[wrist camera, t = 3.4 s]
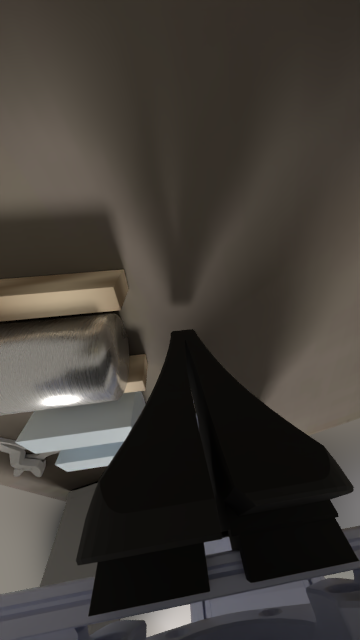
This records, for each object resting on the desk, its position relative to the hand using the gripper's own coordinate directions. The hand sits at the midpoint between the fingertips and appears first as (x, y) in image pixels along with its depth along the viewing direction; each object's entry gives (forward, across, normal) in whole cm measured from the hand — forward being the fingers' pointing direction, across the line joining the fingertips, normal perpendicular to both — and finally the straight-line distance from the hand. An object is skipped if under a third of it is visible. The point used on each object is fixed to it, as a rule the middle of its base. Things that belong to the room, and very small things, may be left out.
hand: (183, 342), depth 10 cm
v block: (+2, +8, +10) cm, 13 cm away
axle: (+2, +8, 0) cm, 9 cm away
